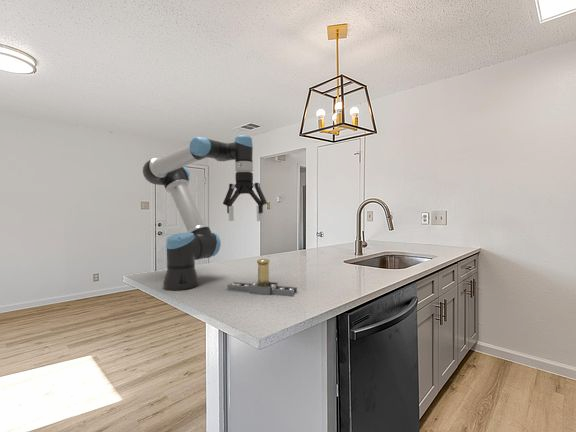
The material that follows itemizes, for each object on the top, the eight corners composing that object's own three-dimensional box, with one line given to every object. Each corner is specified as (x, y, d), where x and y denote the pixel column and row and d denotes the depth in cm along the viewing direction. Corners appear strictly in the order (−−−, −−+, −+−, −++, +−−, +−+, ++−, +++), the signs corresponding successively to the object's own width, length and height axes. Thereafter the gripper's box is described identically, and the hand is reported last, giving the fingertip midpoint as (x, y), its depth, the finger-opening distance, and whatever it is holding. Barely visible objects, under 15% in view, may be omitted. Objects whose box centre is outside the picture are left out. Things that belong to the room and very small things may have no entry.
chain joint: (225, 290, 127) (225, 283, 127) (235, 285, 135) (235, 279, 135) (291, 297, 118) (291, 289, 117) (298, 291, 125) (298, 284, 125)
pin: (255, 292, 125) (255, 260, 124) (260, 289, 129) (260, 258, 129) (266, 293, 123) (266, 261, 122) (271, 290, 128) (271, 259, 127)
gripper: (214, 172, 134) (215, 221, 135) (266, 169, 125) (267, 221, 126) (224, 174, 141) (224, 220, 142) (273, 171, 132) (274, 220, 133)
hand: (244, 221), depth 134 cm, fingers open, 13 cm apart
